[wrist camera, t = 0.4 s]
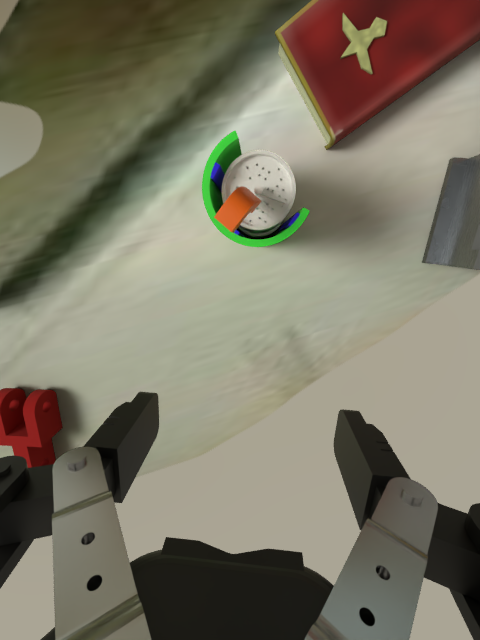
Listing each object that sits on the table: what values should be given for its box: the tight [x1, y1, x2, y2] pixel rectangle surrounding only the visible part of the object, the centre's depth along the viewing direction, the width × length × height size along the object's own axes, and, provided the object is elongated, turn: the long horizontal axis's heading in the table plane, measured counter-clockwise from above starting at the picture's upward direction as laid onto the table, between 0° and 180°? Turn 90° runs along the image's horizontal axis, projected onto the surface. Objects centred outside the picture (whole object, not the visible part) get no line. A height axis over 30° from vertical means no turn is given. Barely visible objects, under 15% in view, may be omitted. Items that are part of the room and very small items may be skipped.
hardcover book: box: [275, 0, 480, 150], centre depth 30 cm, size 12×21×4 cm, turn 124°
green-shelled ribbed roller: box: [202, 131, 310, 247], centre depth 28 cm, size 9×8×18 cm
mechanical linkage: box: [0, 388, 63, 468], centre depth 46 cm, size 16×7×5 cm, turn 0°
